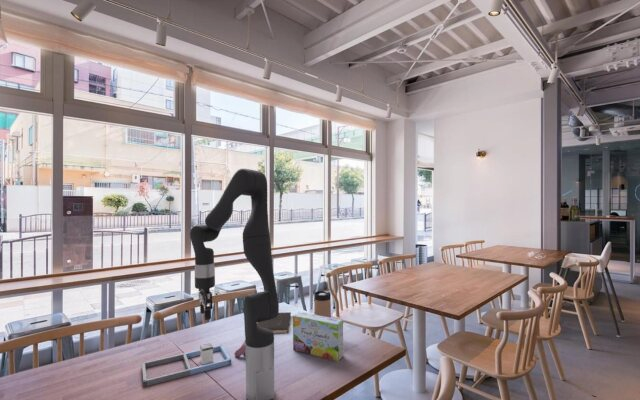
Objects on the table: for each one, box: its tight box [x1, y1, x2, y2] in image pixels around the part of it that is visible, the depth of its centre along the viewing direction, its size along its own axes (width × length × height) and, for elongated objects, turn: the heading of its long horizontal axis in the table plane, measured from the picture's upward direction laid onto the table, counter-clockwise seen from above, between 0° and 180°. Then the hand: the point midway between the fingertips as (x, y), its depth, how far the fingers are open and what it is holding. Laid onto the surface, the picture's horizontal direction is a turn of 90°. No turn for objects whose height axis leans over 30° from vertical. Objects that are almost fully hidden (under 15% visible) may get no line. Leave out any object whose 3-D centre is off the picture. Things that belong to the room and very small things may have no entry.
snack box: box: [292, 311, 344, 362], centre depth 137 cm, size 21×6×15 cm, turn 62°
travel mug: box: [313, 290, 332, 318], centre depth 153 cm, size 8×8×20 cm
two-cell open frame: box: [141, 344, 232, 388], centre depth 128 cm, size 15×30×2 cm, turn 120°
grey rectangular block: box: [199, 342, 214, 366], centre depth 131 cm, size 4×4×6 cm
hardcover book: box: [257, 311, 292, 334], centre depth 169 cm, size 16×23×2 cm
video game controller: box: [234, 340, 246, 358], centre depth 139 cm, size 10×5×7 cm, turn 170°
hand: (205, 316), depth 131 cm, fingers open, 8 cm apart
